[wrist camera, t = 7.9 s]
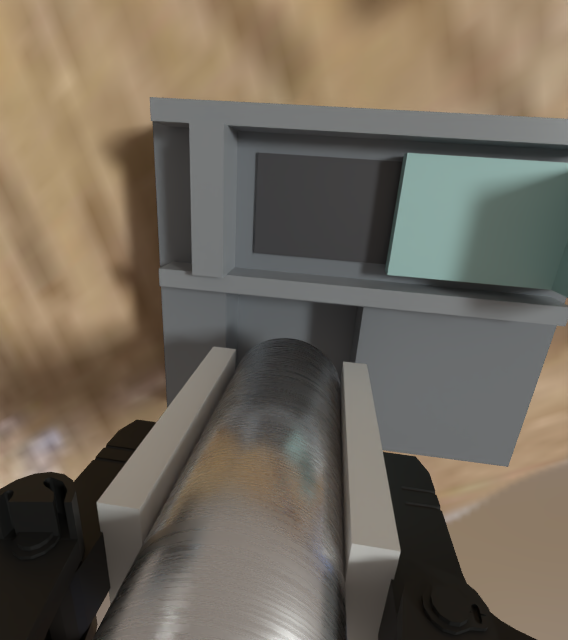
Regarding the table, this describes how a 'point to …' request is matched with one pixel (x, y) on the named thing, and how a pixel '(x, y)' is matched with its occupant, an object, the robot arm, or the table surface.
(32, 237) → the table surface
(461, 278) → the lid
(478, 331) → the housing
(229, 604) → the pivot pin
